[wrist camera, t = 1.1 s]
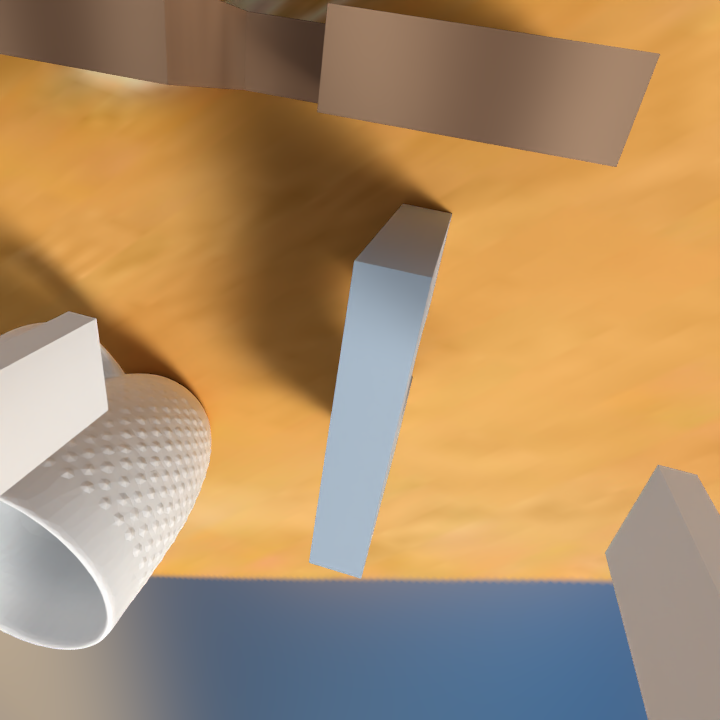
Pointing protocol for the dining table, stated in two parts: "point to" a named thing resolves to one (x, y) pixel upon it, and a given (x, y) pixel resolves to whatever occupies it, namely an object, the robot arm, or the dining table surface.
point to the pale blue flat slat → (375, 380)
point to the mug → (100, 510)
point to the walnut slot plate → (357, 67)
